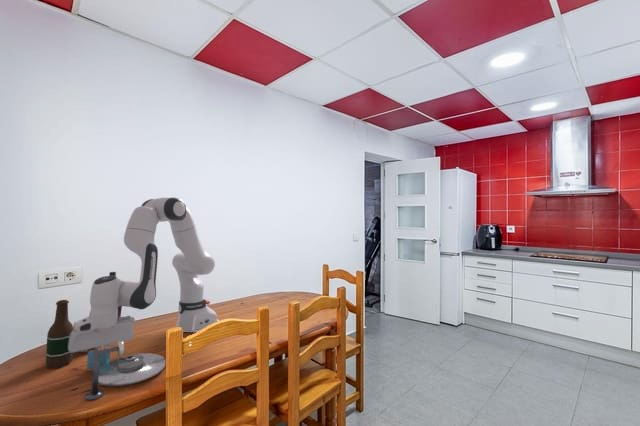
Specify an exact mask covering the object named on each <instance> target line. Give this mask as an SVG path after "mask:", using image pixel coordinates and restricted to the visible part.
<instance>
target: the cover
mask: <svg viewBox="0 0 640 426" xmlns="http://www.w3.org/2000/svg"><path fill="white" fill-rule="evenodd" d="M139 354H140V353H136V354H134V355H133V354H129V355H124V356H125V357H124V356H121V357H122V358H121V359H119V360H118V365H117V371H118V372H119V373H131V372H134V371H137V370H139V369H141V368H142V367H143V356H142V355H139Z"/></svg>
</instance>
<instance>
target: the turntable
mask: <svg viewBox="0 0 640 426" xmlns="http://www.w3.org/2000/svg"><path fill="white" fill-rule="evenodd" d="M138 354H139V355H142V356H143V367H142V368H141V369H139V370H137V371H134V372H131V373H119V372H118V371H117V365H118V360H119V359H121V358H122V357H125V356H126V355H123V356H121V357H118V358H115V359H112V360H111V352H110V353H105V354H101V355H100V359H99V379H98V385H103V386H107V387H119V386H120V387H122V386H128V385H133V384H137V383H140V382H143V381H146V380H149V379H151V378H152V377H154V376H157V375H158V374H159V373H161V372H162V371H163V369H164V368H165V366H166V359H165V357H164V356H162V355H160V354H156V353H150V352H149V353H147V352H146V353H142V352H141V353H138ZM132 355H134V354H132ZM93 356H94V350H91V351H90V352H87V362H86V363H87V364H86V369H87V370H93Z"/></svg>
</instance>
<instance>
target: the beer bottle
mask: <svg viewBox="0 0 640 426" xmlns="http://www.w3.org/2000/svg"><path fill="white" fill-rule="evenodd" d="M69 303H70V302H69V300H67V299H61V300H58V301H56V303H55V305H56V310H55V317H54V322H53V323H52V325H51V326H50V327H49V329H48V331H47V335H46V353H45V367H46V368H49V369H60V368H62V367H66V366H67V365H68V366H69V364H71V362H72V361H73V354H74V353H71V352H69V351H68V342H69V337H70V334H71V332H72V331H73V330H74V327H73V325H74V324H72V322H71V321H70V320H69Z"/></svg>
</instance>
